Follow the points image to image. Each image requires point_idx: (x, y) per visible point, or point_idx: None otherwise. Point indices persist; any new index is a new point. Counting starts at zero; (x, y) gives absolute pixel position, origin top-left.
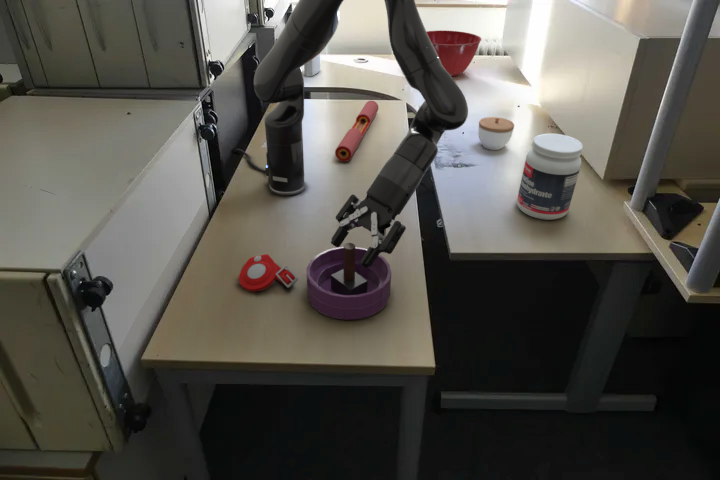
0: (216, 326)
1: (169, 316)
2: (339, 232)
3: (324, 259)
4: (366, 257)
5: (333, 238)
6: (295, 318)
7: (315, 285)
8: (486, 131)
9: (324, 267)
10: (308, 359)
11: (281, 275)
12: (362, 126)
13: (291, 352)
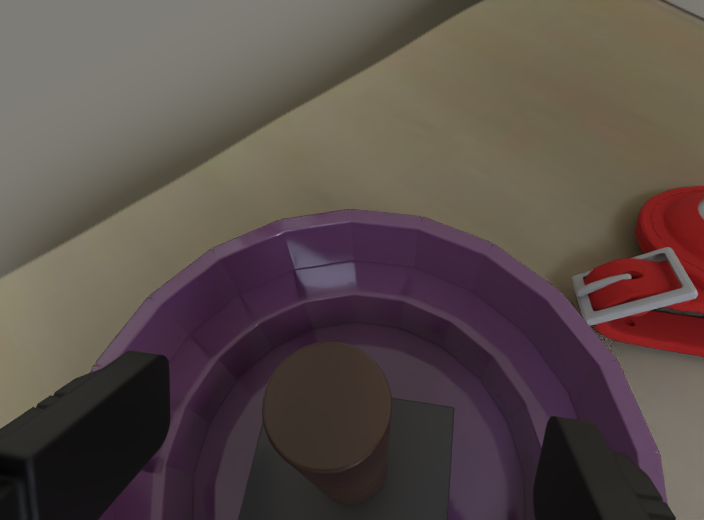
0: (553, 68)
1: (678, 22)
2: (609, 513)
3: None
4: (86, 387)
5: (602, 447)
6: None
7: (392, 218)
8: None
9: None
10: (247, 141)
11: (644, 262)
12: None
13: (306, 129)
